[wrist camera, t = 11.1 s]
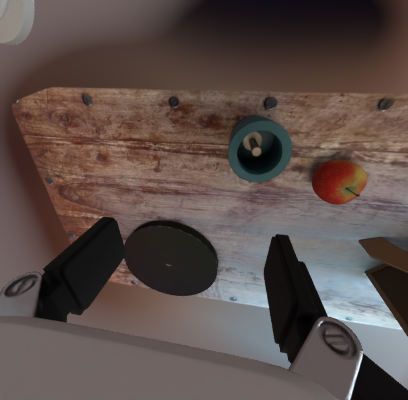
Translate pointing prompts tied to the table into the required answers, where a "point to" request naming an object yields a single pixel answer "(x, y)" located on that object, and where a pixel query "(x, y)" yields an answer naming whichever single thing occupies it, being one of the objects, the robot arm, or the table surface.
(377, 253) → the photo frame
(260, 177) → the jar
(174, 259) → the disc
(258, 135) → the rod on round base
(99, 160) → the table surface
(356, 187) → the apple
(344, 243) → the table surface
